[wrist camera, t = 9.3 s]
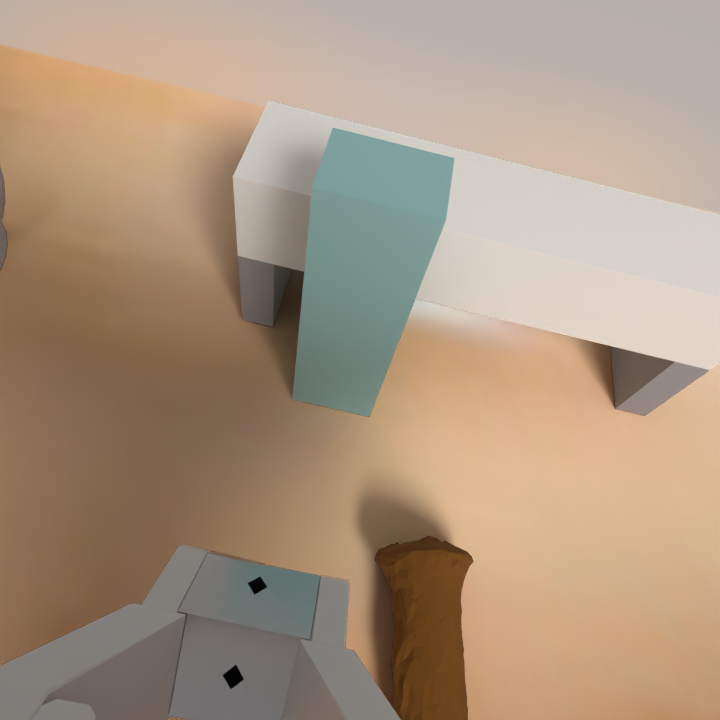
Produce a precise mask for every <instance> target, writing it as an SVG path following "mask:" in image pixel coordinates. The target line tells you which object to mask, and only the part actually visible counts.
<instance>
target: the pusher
mask: <svg viewBox="0 0 720 720" xmlns="http://www.w3.org/2000/svg"><path fill="white" fill-rule="evenodd" d="M454 159H455V158H452V157H448V156H444V155H440V154H436V153H432V152H428V151H424V150H420V149H416V148H412V147H408V146H404V145H401V144H397V143H393V142H389V141H385V140H381V139H377V138H373V137H369V136H365V135H361V134H357V133H353V132H349V131H345V130H341V129H337V128H332V131H331V134H330V137H329V140H328V143H327V146H326V149H325V151H324V154H323V157H322V160H321V163H320V166H319V169H318V172H317V175H316V178H315V181H314V183H313V186H312V196H311V207H310V217H309V228H308V238H307V249H306V259H305V270H304V281H303V291H302V302H301V312H300V323H299V333H298V344H297V355H296V365H295V376H294V386H293V397H292V399H294V400H298V401H303V402H307V403H311V404H315V405H320V406H324V407H328V408H332V409H337V410H341V411H345V412H350V413H354V414H358V415H362V416H367V417H369V416H370V414H371V411H372V409H373V406H374V403H375V401H376V398H377V396H378V393H379V391H380V388H381V385H382V383H383V380H384V378H385V375H386V373H387V370H388V368H389V365H390V362H391V360H392V357H393V355H394V352H395V350H396V347H397V344H398V342H399V339H400V337H401V334H402V332H403V329H404V327H405V324H406V321H407V319H408V316H409V314H410V311H411V309H412V306H413V303H414V301H415V298H416V296H417V293H418V291H419V288H420V285H421V283H422V280H423V278H424V275H425V273H426V270H427V268H428V265H429V262H430V260H431V257H432V255H433V252H434V250H435V247H436V244H437V242H438V239H439V237H440V234H441V232H442V229H443V226H444V224H445V221H446V217H447V210H448V202H449V195H450V188H451V181H452V173H453V166H454Z"/></svg>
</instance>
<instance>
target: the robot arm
mask: <svg viewBox="0 0 720 720" xmlns="http://www.w3.org/2000/svg"><path fill="white" fill-rule="evenodd" d="M349 587H350V583H349V581H348V580H345V579H340V578H335V577H329V576H324V575H321V576H319V575H315V574H310V573H305V572H300V571H295V570H290V569H285V568H280V567H275V566H271V565H266V564H264V563H260V562H256V561H252V560H248V559H244V558H240V557H235V556H231V555H227V554H223V553H219V552H215V551H210V552H209V551H208V550H206V549H202V548H197V547H192V546H188V545H183V544H182V545H180V546H179V547H177V548H176V550H175V551H174V553H173V555H172V556H171V558H170V559H169V561H168V563H167V564H166V566H165V567H164V569H163V570H162V572H161V574H160V575H159V577H158V578H157V580H156V582H155V583H154V585H153V586H152V588H151V590H150V591H149V593H148V594H147V596H146V598H145V599H144V601H143V602H142V604H141V605H140V604H135V603H131V604H129V605H127V606H125V607H123V608H121V609H118V610H116V611H114V612H112V613H110V614H108V615H106V616H104V617H102V618H100V619H97V620H95V621H93V622H91V623H89V624H87V625H85V626H83V627H81V628H79V629H76V630H74V631H72V632H70V633H68V634H66V635H64V636H62V637H60V638H58V639H55V640H53V641H51V642H49V643H47V644H45V645H43V646H41V647H39V648H37V649H34V650H32V651H30V652H28V653H26V654H24V655H22V656H20V657H18V658H16V659H13V660H11V661H9V662H7V663H5V664H3V665H1V666H0V720H167V718H168V716H172V717H177V718H183V719H189V720H401V719H400V718H399V716H398V715H397V713H396V712H395V710H394V709H393V707H392V706H391V704H390V703H389V701H388V700H387V698H386V697H385V695H384V694H383V693H382V691H381V690H380V688H379V687H378V685H377V684H376V682H375V681H374V679H373V678H372V676H371V675H370V673H369V672H368V670H367V669H366V667H365V666H364V664H363V663H362V661H361V660H360V659H359V657H358V656H357V654H356V653H355V651H354V650H350V649H346V634H347V618H348V602H349Z"/></svg>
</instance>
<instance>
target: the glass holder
mask: <svg viewBox="0 0 720 720" xmlns="http://www.w3.org/2000/svg"><path fill="white" fill-rule="evenodd" d="M4 206H5V189H4V178H3V175H2V171H1V167H0V270H1V268H2V265H3V263H4V260H5V258H6V252H7V245H8V243H7V235H6V231H5V229H4V226H3V224H2V222H1V220H2V218H3V213H4Z"/></svg>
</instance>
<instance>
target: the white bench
mask: <svg viewBox="0 0 720 720" xmlns="http://www.w3.org/2000/svg"><path fill="white" fill-rule="evenodd" d="M332 128H337V129H341V130H345V131H349V132H353V133H357V134H361V135H365V136H369V137H373V138H377V139H381V140H385V141H389V142H393V143H397V144H401V145H404V146H408V147H412V148H416V149H420V150H424V151H428V152H432V153H436V154H440V155H444V156H448V157H452V158H455V159H454V166H453V173H452V181H451V188H450V195H449V202H448V210H447V217H446V221H445V224H444V226H443V229H442V232H441V234H440V237H439V239H438V242H437V244H436V247H435V250H434V252H433V255H432V257H431V260H430V262H429V265H428V268H427V270H426V273H425V275H424V278H423V280H422V283H421V285H420V288H419V291H418V293H417V296H416V298H415V299H418V300H423V301H427V302H431V303H435V304H439V305H443V306H447V307H451V308H456V309H460V310H464V311H468V312H472V313H476V314H480V315H484V316H489V317H493V318H497V319H501V320H505V321H509V322H513V323H517V324H522V325H526V326H530V327H534V328H538V329H542V330H546V331H550V332H555V333H559V334H563V335H567V336H571V337H575V338H579V339H583V340H588V341H592V342H596V343H600V344H604V345H608V346H610V349H611V362H612V374H613V386H614V398H615V409H618V410H623V411H627V412H631V413H635V414H639V415H644V416H645V415H647V414H648V413H650V412H651V411H653V410H654V409H655V408H657V407H658V406H660V405H661V404H662V403H664V402H665V401H667V400H668V399H670V398H671V397H672V396H674V395H675V394H677V393H678V392H679V391H681V390H682V389H684V388H685V387H687V386H688V385H689V384H691V383H692V382H694V381H695V380H696V379H698V378H699V377H701V376H702V375H704V374H705V373H706V372H708V371H709V370H711V369H712V368H714V367H715V366H716V365H718V364H719V363H720V214H716V213H712V212H708V211H704V210H700V209H696V208H692V207H688V206H684V205H680V204H676V203H672V202H668V201H664V200H660V199H656V198H652V197H648V196H644V195H640V194H636V193H632V192H629V191H625V190H621V189H617V188H613V187H609V186H605V185H601V184H597V183H593V182H589V181H585V180H581V179H577V178H573V177H569V176H565V175H561V174H557V173H553V172H549V171H545V170H541V169H537V168H533V167H529V166H525V165H521V164H518V163H513V162H509V161H506V160H501V159H498V158H494V157H490V156H486V155H482V154H478V153H473V152H470V151H466V150H462V149H458V148H454V147H450V146H446V145H442V144H438V143H434V142H430V141H426V140H422V139H419V138H414V137H411V136H407V135H403V134H399V133H395V132H391V131H387V130H383V129H378V128H375V127H371V126H367V125H363V124H359V123H355V122H351V121H347V120H343V119H339V118H335V117H331V116H327V115H323V114H319V113H315V112H312V111H308V110H304V109H300V108H296V107H291V106H287V105H284V104H280V103H276V102H272V101H268V103H267V105H266V107H265V109H264V111H263V113H262V115H261V117H260V120H259V122H258V124H257V126H256V128H255V130H254V132H253V134H252V137H251V139H250V141H249V143H248V145H247V147H246V149H245V151H244V154H243V156H242V158H241V160H240V162H239V164H238V166H237V168H236V171H235V173H234V175H233V188H234V204H235V219H236V235H237V250H238V266H239V282H240V297H241V313H242V320H245V321H250V322H254V323H258V324H262V325H266V326H270V327H273V325H274V322H275V319H276V316H277V313H278V310H279V307H280V304H281V301H282V298H283V295H284V292H285V289H286V286H287V283H288V280H289V277H290V274H291V271H292V269H295V270H299V271H303V272H304V270H305V259H306V249H307V238H308V228H309V217H310V207H311V196H312V186H313V183H314V181H315V178H316V175H317V172H318V169H319V166H320V163H321V160H322V157H323V154H324V151H325V149H326V146H327V143H328V140H329V137H330V134H331V131H332Z"/></svg>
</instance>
